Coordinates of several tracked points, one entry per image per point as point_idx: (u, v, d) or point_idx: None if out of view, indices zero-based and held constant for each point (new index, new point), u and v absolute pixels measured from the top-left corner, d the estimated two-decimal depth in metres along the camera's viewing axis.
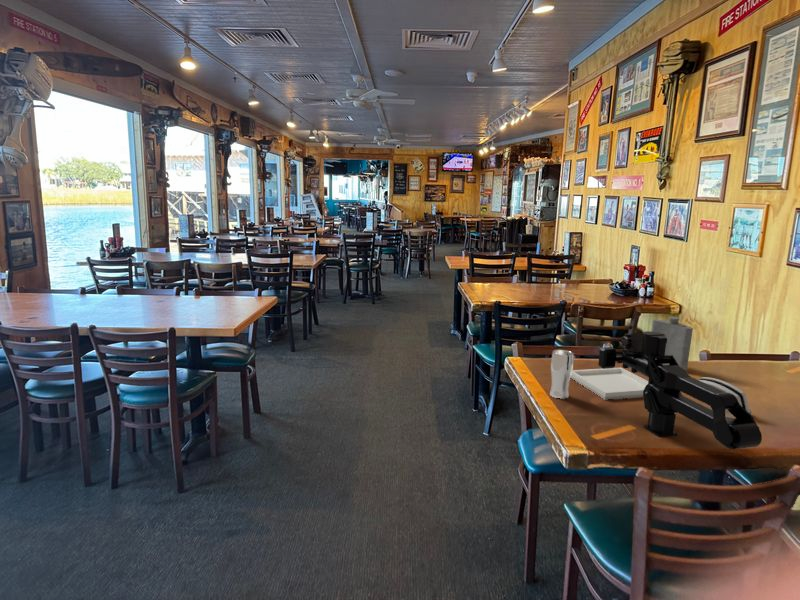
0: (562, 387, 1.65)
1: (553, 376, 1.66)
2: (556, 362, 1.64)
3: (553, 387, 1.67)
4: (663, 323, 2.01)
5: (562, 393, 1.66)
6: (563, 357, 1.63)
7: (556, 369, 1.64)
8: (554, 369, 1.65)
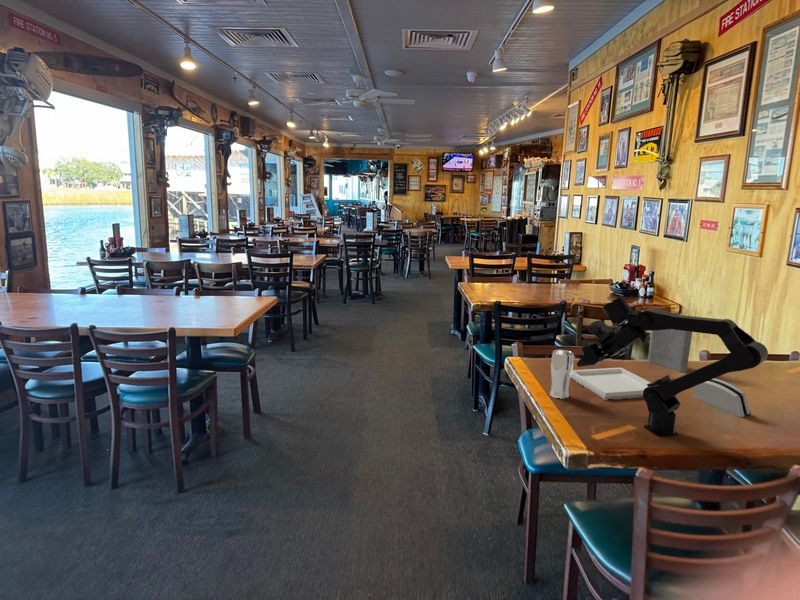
0: (562, 387, 1.65)
1: (553, 376, 1.66)
2: (556, 362, 1.64)
3: (553, 387, 1.67)
4: None
5: (562, 393, 1.66)
6: (563, 357, 1.63)
7: (556, 369, 1.64)
8: (554, 369, 1.65)
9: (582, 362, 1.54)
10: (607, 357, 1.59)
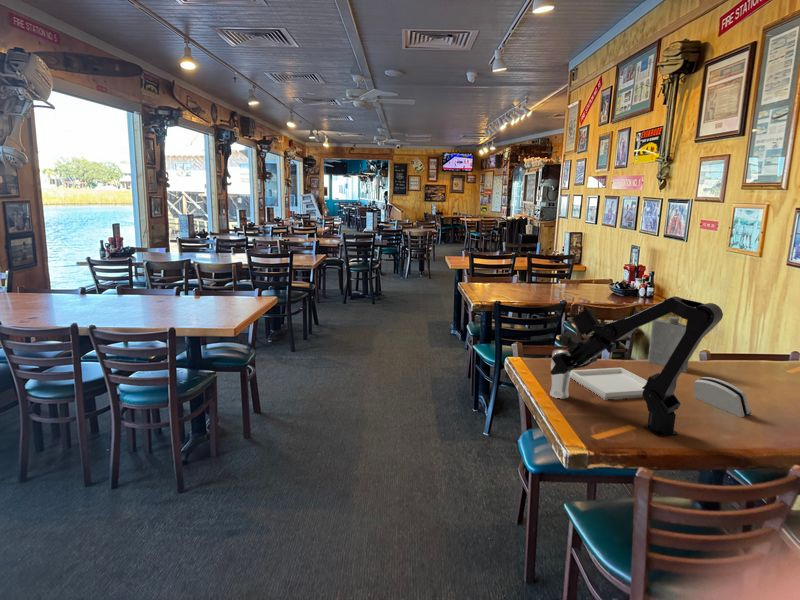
0: (562, 387, 1.65)
1: (553, 376, 1.66)
2: None
3: (553, 387, 1.67)
4: (663, 323, 2.01)
5: (562, 393, 1.66)
6: None
7: None
8: None
9: (555, 370, 1.63)
10: (576, 367, 1.67)
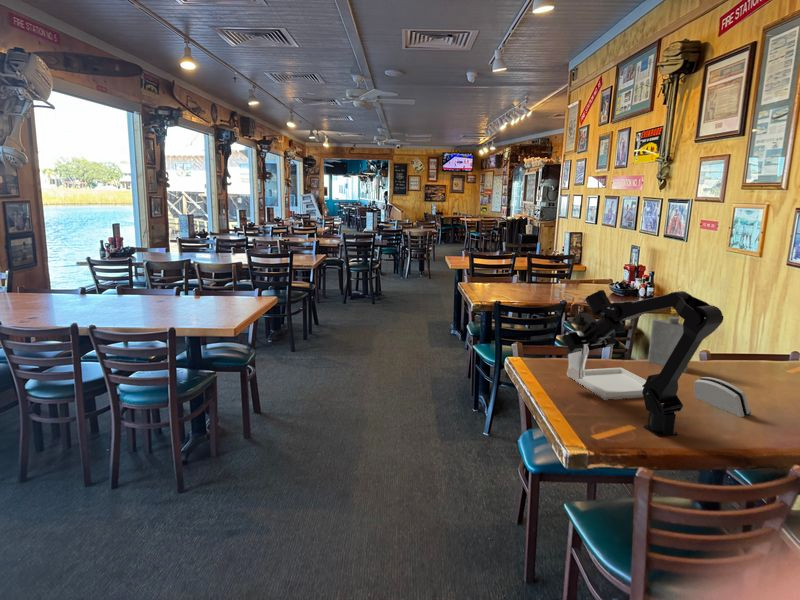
0: (577, 366, 1.69)
1: (569, 355, 1.71)
2: None
3: (569, 366, 1.72)
4: (663, 323, 2.01)
5: (577, 373, 1.70)
6: None
7: None
8: None
9: (569, 349, 1.68)
10: (593, 348, 1.70)
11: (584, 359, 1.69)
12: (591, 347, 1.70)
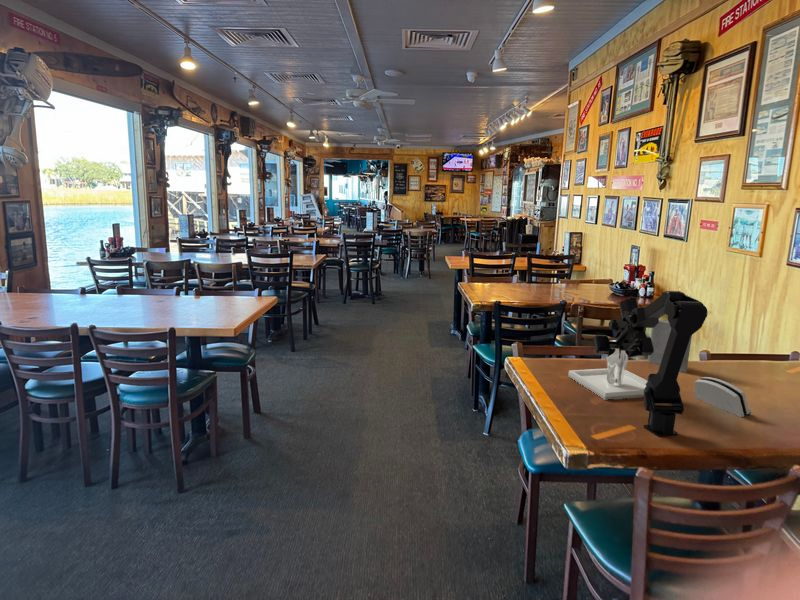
0: (612, 374, 1.76)
1: (607, 363, 1.78)
2: None
3: (607, 373, 1.79)
4: (663, 323, 2.01)
5: (612, 380, 1.76)
6: None
7: (607, 356, 1.76)
8: None
9: None
10: (634, 355, 1.73)
11: (620, 368, 1.74)
12: (632, 353, 1.74)
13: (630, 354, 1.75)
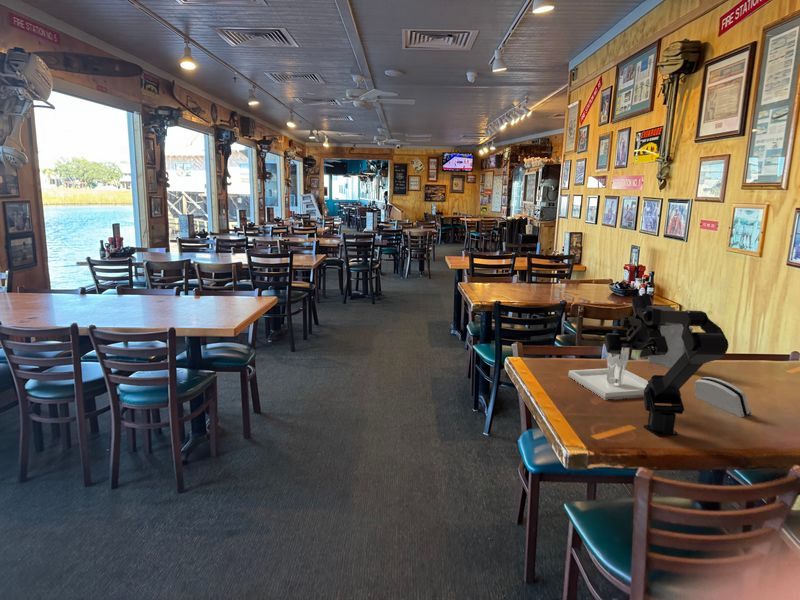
0: (613, 374, 1.76)
1: (607, 363, 1.78)
2: None
3: (607, 373, 1.79)
4: None
5: (612, 380, 1.76)
6: None
7: (607, 356, 1.76)
8: (607, 356, 1.77)
9: None
10: (647, 354, 1.64)
11: (620, 368, 1.74)
12: (646, 353, 1.65)
13: (643, 354, 1.66)
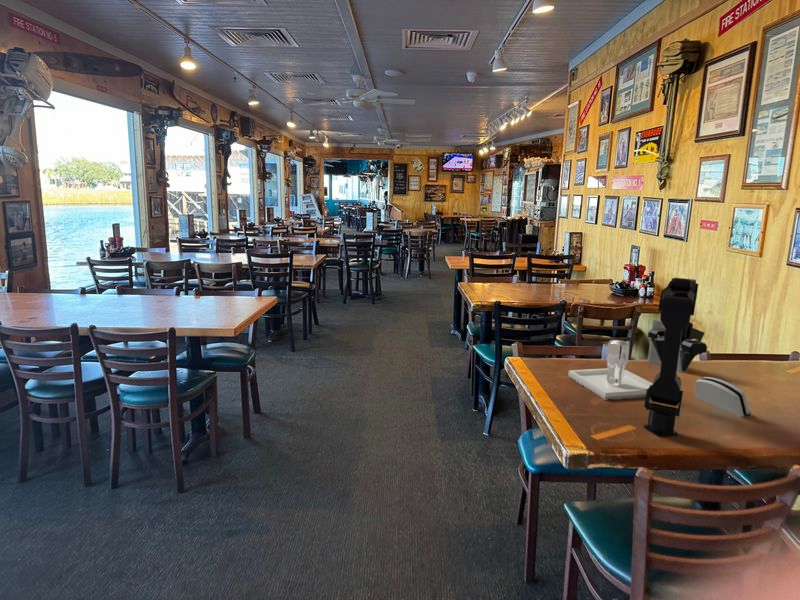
0: (613, 374, 1.76)
1: (607, 363, 1.78)
2: (608, 349, 1.76)
3: (607, 373, 1.79)
4: None
5: (612, 380, 1.76)
6: (613, 345, 1.74)
7: (607, 356, 1.76)
8: (607, 356, 1.77)
9: None
10: None
11: (620, 368, 1.74)
12: None
13: None
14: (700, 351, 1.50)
